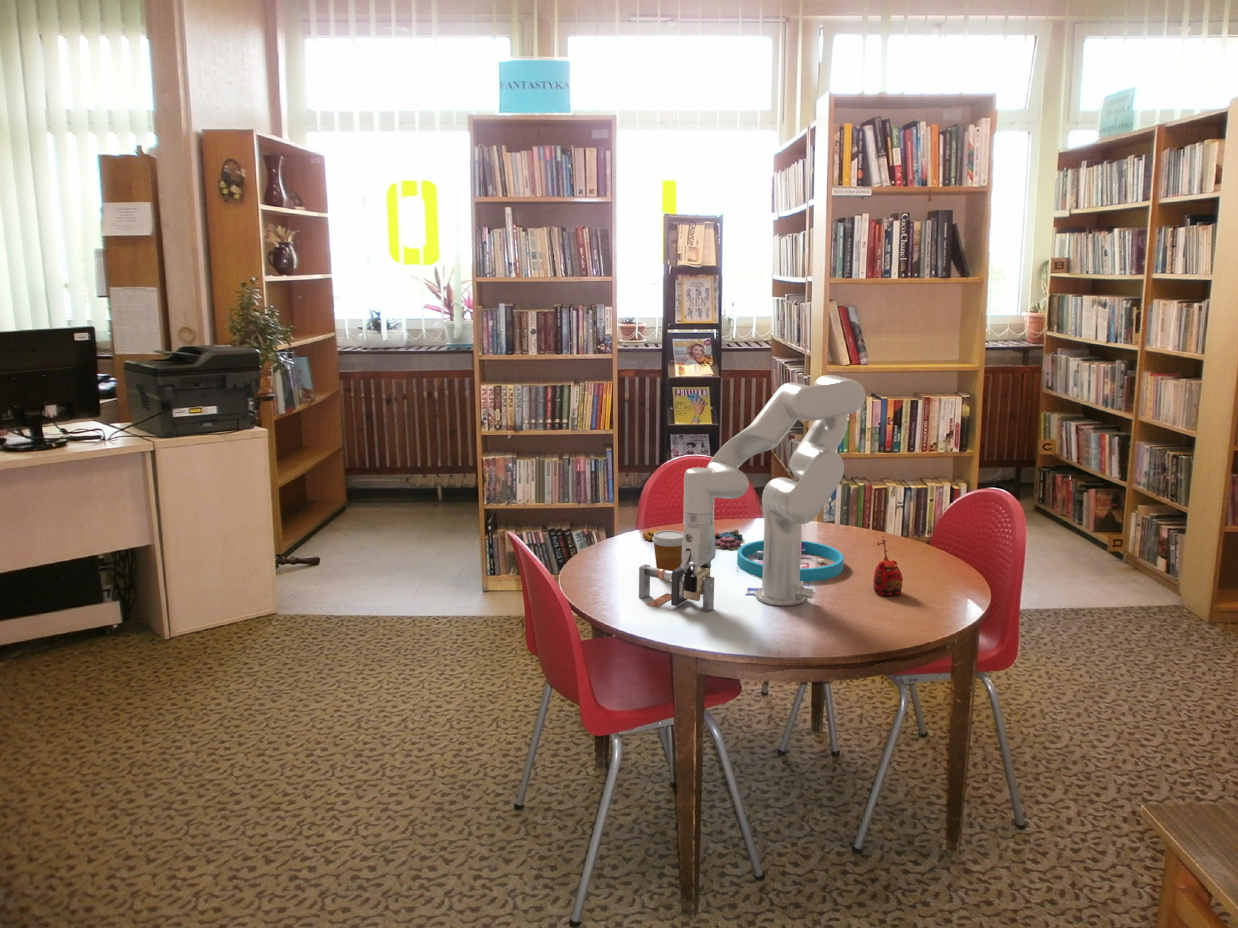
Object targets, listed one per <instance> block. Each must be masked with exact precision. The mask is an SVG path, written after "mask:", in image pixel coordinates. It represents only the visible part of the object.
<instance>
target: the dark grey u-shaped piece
mask: <svg viewBox="0 0 1238 928" xmlns="http://www.w3.org/2000/svg"><path fill="white" fill-rule="evenodd" d="M689 568H690V569H692V567H691V566H689ZM681 575H683V570H682V568H681V566H680V567H678V568H676V569H674V570H673V571H672V581H671V593H670V594H671V599H670V601H671V602H670V603H671V604H670V605H671V606H673V607H678V606H679V605H681V604H683V603H685V602H686V601H687V600H689V599H685V598H684V583H682V593H681V592H680V591H681V590H680V588H681V583H680V576H681Z"/></svg>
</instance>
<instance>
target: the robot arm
mask: <svg viewBox="0 0 1238 928" xmlns="http://www.w3.org/2000/svg"><path fill="white" fill-rule="evenodd" d="M865 401H866V391H865V388H864V387H863V385H862V384H861V383H860V382H859V381H857V380H855V379H853V378H847V377H842V376H839V375H833V374H825V375H821V376H819V377H818V378H817V379H816V380H815V381H814V382H813V385H806V384H804V383H803V384H802V383H798V382H792V381H791V382H786V383H783V384H782V385H780V387H779V388H778V389H777V390H776V391H775V392H774V394H773V395H772V396H771V398H770V399H768V401H767V403H766V404H765V405H764V406H763V408H762V409H761V410H760V412H759V413H758V414H757V415H756V416H755V418H754V419H753V421H751V423H750V424H749V425H748V426H747V427H746V428H744V429H743V430H741V431H740V432H739V433H737V434H736V435H734V436H733V437H732V438H730V439H729V440H728V441H726V442H725V443H723V445H722V446H721V447H720V448H719V449H718V451H717V452H715V454H714V455H713V457H712V458H711V459H710V460H709V462H708V464H707V466H705V467H691V468H688V469H686V471H685V472H684V476H683V515H682V516H683V518H682V519H683V521H682V522H683V525H684V526H683V531H682V532H683V541H682V563H681V568H682V570H683V575H684V590H685V591H689V592H694V593H695V592H696V590H697V577H695V575H696V570H697V567H704V568H709V569H710V570H711V567H712V563H711V562H712V561H713V560H714V559H715V557H716V550H717V549H716V547H715V532H716V530H715V523H714V522H715V499H727V500H729V499H730V500H735V499H739V498H741V497H743V496H744V495H745V494H747V491H748V489H749V486H750V482H749V479H748V477H747V475H746V474H745V473H744V472H743V471H741V470H740V469H739V468H740V467H741V466H742V465H743V464H744V463H745V462H746V461H747V460H748V459H750V458H752V457H753V456H755V455H758V454H760V453H764V452H768V451H770V450H773V449H775V448H776V447H778V446H779V444H780V443H781V442H782V441H783V439H784V438H785V436H786V435H787V434H788V433H789V432H790V430H791V429H792V427H794V425H795V423H797V421H798V420H801V421H803V422H804V421H805V422H811V421H813V422H812V424H811V426H810V427H809V429H808V431H807V433H805V435H804V437H803V438H802V440H801V441H800V442H799V444H798V446H797V447H796V448H795V450H794V452H793V453H792V454H791V456H790V458H789V469H790V471H791V472H792V474H793V475H795V476H796V477H798V478H799V481H796V480H794V479H791V478H788V477H782V476H780V477H776V478H773V479H771V480H769V482H767V483H766V484H765V486H764V488H763V491H762V496H761V497H762V498H761V502H762V503H761V505H762V511H763V519H764V521H763V523H764V527H763V529H764V532H763V536H764V537H763V540H764V552H763V558H762V564H763V578H762V579H761V580H762V584H761V585H762V587H761V588H759V589H757V590H756V591H755V597H756V599H757V600H758V601H760V602H761V603H765V604H768V605H772V606H782V607H783V606H785V607H786V606H787V607H788V606H794V605H795V606H796V605H799V604H802V603H804V602H805V601H806V599H811V600H813V599H814V598H815V592H814V589H813V588H809V587H808V588H807V587H805V586H804V582H802V581H800V568H801V562H802V561H801V560H802V553H801V542H802V541H803V528H802V525H804V524H809V523H811V522H812V521H813V520H814V519H815V518H817V516H818V515H819V514H820V513H821V511H822V510H823V508H824V507H825V505H826V504H827V502H828V501H829V500H830V498H831V497H832V495H833V493H834V492H835V490H836V489H837V487H838V486H839V484H840V483H841V480H842V478H843V476H844V473H845V471H844V470H845V469H844V468H845V466H844V461H843V458H842V456H841V455H840V454H839V453H837V452H836V451H837V449H838V448H839V446H840V444H841V443H842V441H843V440H844V438H845V436H846V432H847V428H848V415H851V414H854V413H856V412H858V411H859V410H860V409H861V408H862V406H863V405H864V404H865ZM689 566H691V569H692V568H693V570H691V569H690V568H689Z"/></svg>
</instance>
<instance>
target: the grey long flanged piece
mask: <svg viewBox="0 0 1238 928" xmlns="http://www.w3.org/2000/svg"><path fill="white" fill-rule="evenodd" d="M651 578H655V579H661V580H664V581H665V580H666V581H670V582H672V571H668V570H664V569H658V568H657V567H652V566H651V565H649V564H645V563H644V564H643V565H641V566H639V568H638V598H639V599H646V598H648V597H650V595H651V590H650V589H651ZM683 583H684V575H681V576H680V584H683ZM701 587H703V595H702V612H705V613H709V612H712V610H714V608H715V607H714V606H715V605H714V603H715V602H714V601H715V577H714V576H710V577H707V578H703V579H701ZM668 601H671V593H669V592H666V593H664V594H662V595H660V596H659V597H657V598H655V599H653V600H652V601H650V602H648V603H647V604H646V605H647V606H651V607H656V608H658V607H660V606H662V605H663V604H665V603H667V602H668Z"/></svg>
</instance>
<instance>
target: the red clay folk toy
mask: <svg viewBox="0 0 1238 928" xmlns="http://www.w3.org/2000/svg"><path fill="white" fill-rule="evenodd" d="M881 537H882V538H883V539H882V540H880V541H881V542H879V541H877V544H876V546H878V547H879V546H880V545H883V549H884V553H883V554H884V558H883V561H879V562H878V565H877V566H876V567H875V570H874V573H873V590H874V592H875V593H876V594H878V595H879V596H880V597H881V596H882V597H883V596H884V597H885V596H886V597H890V596H891V597H892V596H900V595H901V594H902V589H903V579H904V578H903V576H902V575H903V574H902V572H901V570H900V568H899V567H898V562H897V561H896V560H890V559H889V558H888V554H887V552H888V550H887V549H886V547H887V546H886V542H888V541H889V539H887V540H885V537H884V535H882V536H881Z"/></svg>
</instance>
